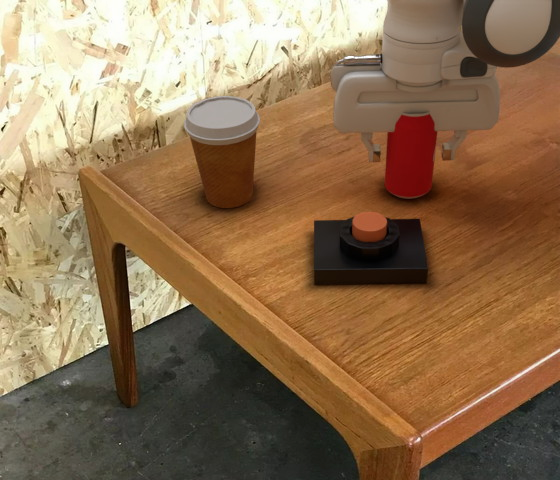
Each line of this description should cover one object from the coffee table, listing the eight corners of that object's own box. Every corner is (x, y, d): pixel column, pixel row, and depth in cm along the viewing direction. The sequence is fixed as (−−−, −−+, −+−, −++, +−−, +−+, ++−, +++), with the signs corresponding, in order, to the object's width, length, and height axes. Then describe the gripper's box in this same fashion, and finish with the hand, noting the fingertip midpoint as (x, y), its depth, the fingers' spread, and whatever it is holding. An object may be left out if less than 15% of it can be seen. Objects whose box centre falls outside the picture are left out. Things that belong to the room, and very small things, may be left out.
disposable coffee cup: (254, 171, 111) (248, 89, 102) (273, 207, 104) (268, 122, 96) (187, 184, 109) (176, 101, 101) (202, 221, 103) (191, 136, 94)
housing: (418, 233, 99) (421, 205, 96) (426, 283, 92) (429, 255, 89) (314, 234, 99) (313, 207, 97) (314, 284, 92) (313, 257, 90)
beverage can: (432, 178, 108) (441, 93, 99) (430, 203, 103) (439, 117, 95) (386, 175, 109) (391, 91, 100) (382, 200, 104) (387, 115, 96)
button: (385, 223, 94) (386, 211, 93) (387, 243, 92) (388, 230, 90) (351, 224, 95) (351, 211, 93) (352, 243, 92) (353, 231, 91)
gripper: (331, 67, 91) (330, 173, 101) (511, 62, 90) (493, 170, 100) (330, 44, 96) (330, 148, 105) (502, 39, 95) (485, 145, 104)
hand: (410, 159), depth 103 cm, fingers open, 8 cm apart
